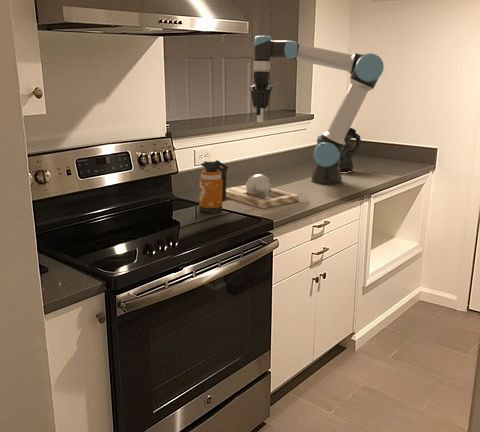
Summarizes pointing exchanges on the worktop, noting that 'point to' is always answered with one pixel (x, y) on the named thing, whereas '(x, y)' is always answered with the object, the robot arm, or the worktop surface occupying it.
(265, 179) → the ball
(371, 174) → the worktop surface
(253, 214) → the worktop surface
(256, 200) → the light wooden flat tray
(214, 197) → the canister
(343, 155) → the beer stein
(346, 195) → the worktop surface
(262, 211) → the worktop surface
